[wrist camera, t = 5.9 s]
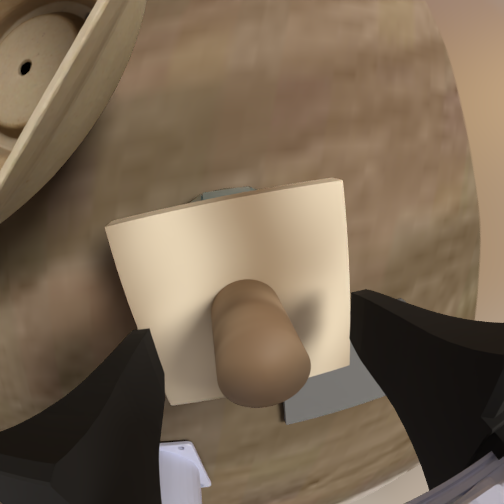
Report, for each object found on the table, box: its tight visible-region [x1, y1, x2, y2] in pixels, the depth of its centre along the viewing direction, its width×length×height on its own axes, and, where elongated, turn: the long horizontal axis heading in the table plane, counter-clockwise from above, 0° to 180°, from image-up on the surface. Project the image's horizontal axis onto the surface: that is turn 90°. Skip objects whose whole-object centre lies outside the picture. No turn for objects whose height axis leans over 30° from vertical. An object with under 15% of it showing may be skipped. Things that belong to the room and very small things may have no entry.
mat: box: [283, 298, 406, 425], centre depth 20 cm, size 9×9×1 cm
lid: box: [105, 178, 350, 408], centre depth 11 cm, size 9×9×5 cm
